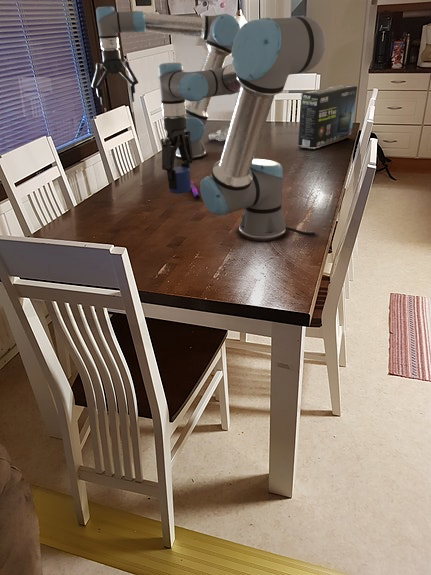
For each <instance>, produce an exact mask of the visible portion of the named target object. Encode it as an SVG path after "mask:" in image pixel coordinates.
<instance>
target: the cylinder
mask: <svg viewBox="0 0 431 575" xmlns="http://www.w3.org/2000/svg"><path fill="white" fill-rule="evenodd" d="M174 170H175V172H176V184H177V189H176V190H174V189H169V188H168V190H169V193H171V194H175V195H176V194H177V195H178V194H179V195H180V194H181V195H183V194H186V193H189V192H192V191H191V181H192V179H191V168H190V169H189V168H188V167H182V166H174Z"/></svg>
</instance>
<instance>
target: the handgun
mask: <svg viewBox="0 0 431 575" xmlns="http://www.w3.org/2000/svg"><path fill="white" fill-rule="evenodd" d="M190 192H192V193H193V196H194V199H195V200H196V201H198V200H200V196H201V195H200V194H199V192H198V189H197V188H196V186H195V183H194V181H193V180H191V191H190Z"/></svg>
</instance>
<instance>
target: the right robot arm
mask: <svg viewBox="0 0 431 575" xmlns="http://www.w3.org/2000/svg"><path fill="white" fill-rule="evenodd" d="M326 40H327V39H326V36H325V33H324V30H323V28H322V27H321V25H320V24H319V23H318V22H317V21H315V20H314V19H312V18H309V17H307V16H295V17H294V16H293V17H276V18H275V17H274V18H273V17H272V18H271V17H261V18H259V19H253V20H249V21H247V22H246V23H244V24H243V25H242V26H240V30H239V31H238V33H237V34H236V37H235V39H234V42H233V46H232V53H231V57H232V58H233V60H232V61H231V63H229V64H228V65H225V66H223V67H222V68H220V69H214V70H205V71H201V70H197V71H184V67H183V66H184V65H183V64H182V63H181V62H164V63H161V64H159V65H158V81H159V82H158V83H159V92H160V99H161V111H162V116H163V118H162V124H163V125H162V126H163V130H165V131H166V136H165V138H161V139H160V143H161V169H162V170H163V171H166V174H167V175H166V176H167V181H168V190H169V189H174V190H176V189H177V184H176V172H175V170H174V167H175V162H176V150H177V149H179V151H180V154H181V157H182V159H181V160H182V162H181V167H188V168H189V169H190V170H191V168H190V166H191V165H190V164H192V163H193V160H194V159H193V153H192V147H191V140H190V131H185V130H184V129H186V128H187V122H186V117H185V116H184V115H186V106H187V105H186V101H187V102H190V101H191V102H193V101H201V100H202V99H203V98H208V97H212V98H214V97H220V96H232V95H235V94H237V97H236V99H235V100H236V101H235V104H234V108H233V111H232V116H231V118H230V122H229V130H228V134H227V138H226V141H224V146H223V150H222V153H221V158H220V160H218V161H216V162H215V163H214V164H213V166H212V170H211V174H210V175H207V176H205V177H203V178H202V179H201V180H200V183H199V192H200V196H201V199H202V203H203V204H204V206H205V208H206V209H207V210H208V212H210V213H211V214H212V215H214V216H217V217H219V216H223V215H228V214H231V213H234V212H238V211H241V210H244V211H243V213H242V214H241V217H240V218H241V220H240V222H239V225H238V232H239V235H240V236H241V237H242V238H244V239H247V240H250V241H254V242H271V241H277V240H279V239H281V238H283V237H285V235H286V234H287V231H290V232H293V233H296V234H301V235H303V236H305V235H306V236H316V232H315V231H303V230H299V229H296V228H292V227H289V226H287V223H286V221H285V216H284V214H283V210H282V200H283V183H284V174H283V173H284V172H283V171H284V169H283V166H282V164H281V163H280V162H278V161H274V160H270V159H265V158H264V159H262V158H255V156H256V153H257V150H258V146H259V143H260V140H261V138H262V135H263V132H264V129H265V126H266V123H267V120H268V116H269V113H270V110H271V108H272V104H273V101H274V100H275V96H276V95H278V94H280V93H282V92H283V91H284V89H285V86H286V83H287V80H288V77H289V76H291V75H297V74H302V73H306V72H308V71H311V70H313V69H314V68H315V67H317V65H319V63H320V62H321V60H322V59H323V57H324V55H325V52H326V46H327V42H326ZM189 155H190V156H189Z"/></svg>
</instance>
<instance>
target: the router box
mask: <svg viewBox="0 0 431 575" xmlns="http://www.w3.org/2000/svg"><path fill="white" fill-rule="evenodd" d="M357 93H358V86H356V85H350V84H339V85H338V84H337V85H334V86H328V87H324V88H318V89H314V90H309V91H304V92H301V93H300V109H299V110H300V111H299V124H298V137H297V146H298V145H302V146H307V147H317V146H320V145H323V144H325V143H328V142H331V141H333V140H336V139H338V138H341V137H344V136H347V135H351V136H352V133H353V132H352V131H353V125H354V115H355V109H356V99H357ZM311 151H313V150H312V149H311Z"/></svg>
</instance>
